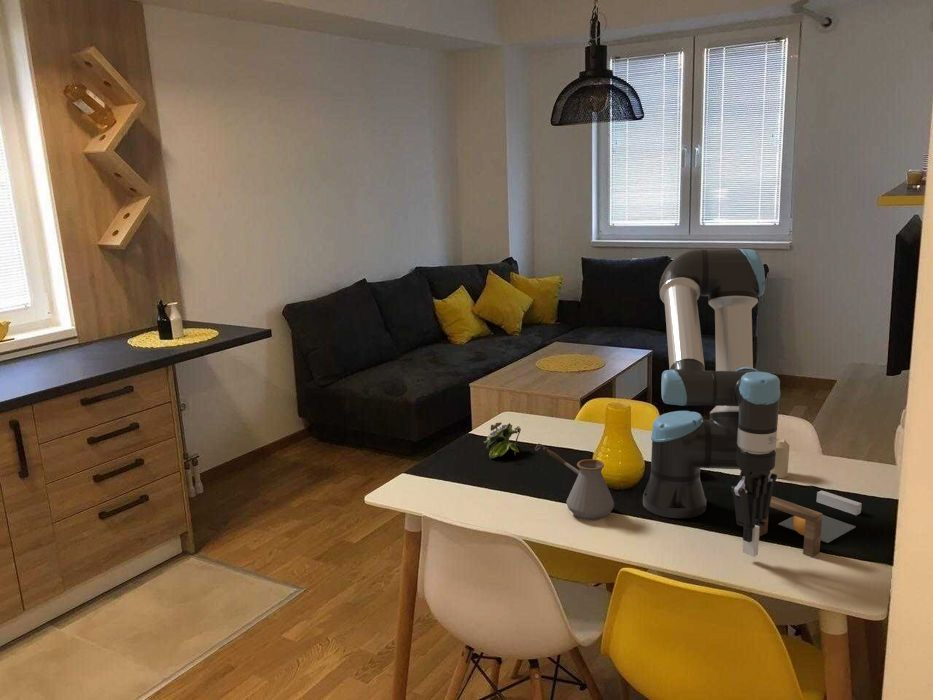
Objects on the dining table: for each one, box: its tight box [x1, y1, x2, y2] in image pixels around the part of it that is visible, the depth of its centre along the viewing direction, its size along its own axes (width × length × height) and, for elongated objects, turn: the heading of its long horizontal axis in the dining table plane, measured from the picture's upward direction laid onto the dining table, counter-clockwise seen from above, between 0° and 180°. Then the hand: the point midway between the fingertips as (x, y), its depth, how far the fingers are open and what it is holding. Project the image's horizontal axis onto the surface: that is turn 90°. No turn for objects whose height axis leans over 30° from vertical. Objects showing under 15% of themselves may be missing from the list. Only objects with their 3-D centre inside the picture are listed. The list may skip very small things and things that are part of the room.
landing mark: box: [777, 514, 856, 544], centre depth 182 cm, size 12×12×1 cm
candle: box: [770, 438, 790, 479], centre depth 210 cm, size 6×6×10 cm
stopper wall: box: [816, 490, 862, 516], centre depth 191 cm, size 10×2×2 cm, turn 37°
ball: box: [793, 516, 805, 536], centre depth 177 cm, size 6×6×6 cm
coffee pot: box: [534, 443, 615, 521], centre depth 193 cm, size 21×12×15 cm, turn 51°
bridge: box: [759, 495, 824, 558], centre depth 173 cm, size 3×14×9 cm, turn 36°
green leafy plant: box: [483, 421, 522, 460], centre depth 232 cm, size 11×11×12 cm
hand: (750, 553), depth 166 cm, fingers closed
